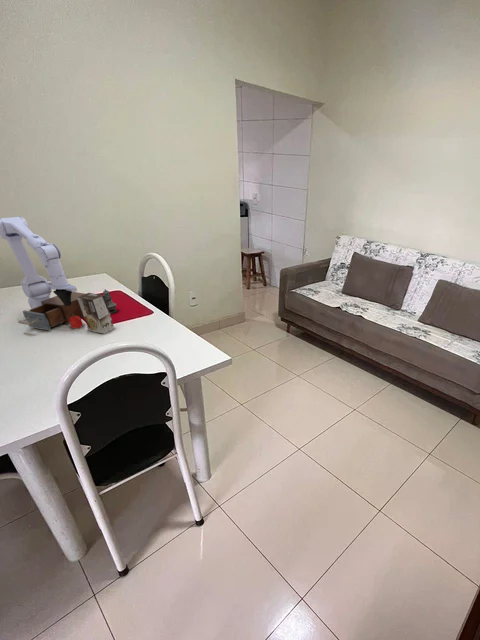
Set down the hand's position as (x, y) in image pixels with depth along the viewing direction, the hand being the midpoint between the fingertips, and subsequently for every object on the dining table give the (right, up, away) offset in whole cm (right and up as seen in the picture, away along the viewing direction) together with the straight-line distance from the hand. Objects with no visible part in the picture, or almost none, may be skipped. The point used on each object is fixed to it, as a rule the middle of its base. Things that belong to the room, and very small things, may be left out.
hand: (68, 305), depth 145 cm
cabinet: (-9, -2, +15) cm, 18 cm away
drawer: (-13, -8, +5) cm, 16 cm away
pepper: (0, -9, +6) cm, 10 cm away
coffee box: (+13, -11, +4) cm, 17 cm away
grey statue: (+7, +1, +21) cm, 22 cm away
